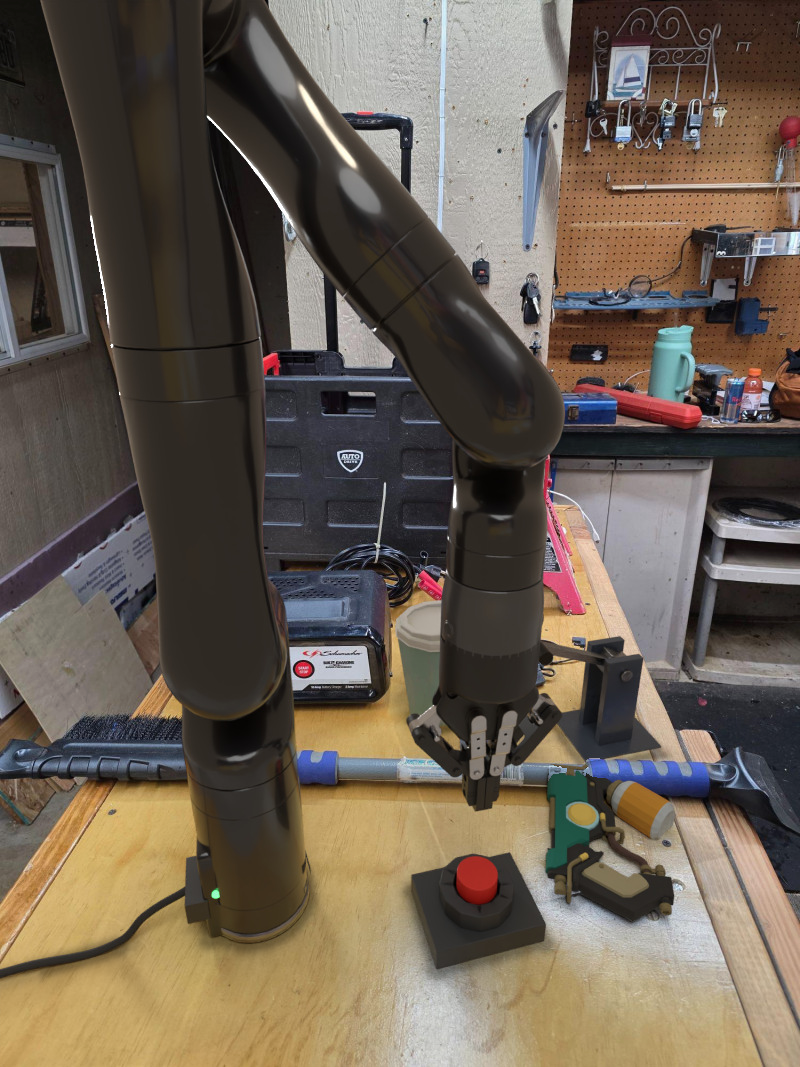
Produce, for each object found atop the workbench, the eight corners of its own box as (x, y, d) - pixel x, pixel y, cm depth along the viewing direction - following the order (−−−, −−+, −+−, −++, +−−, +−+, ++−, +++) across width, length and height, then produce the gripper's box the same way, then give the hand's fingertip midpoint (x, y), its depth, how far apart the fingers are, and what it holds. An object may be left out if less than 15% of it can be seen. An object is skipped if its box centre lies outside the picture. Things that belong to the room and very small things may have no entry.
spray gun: (665, 951, 60) (502, 888, 67) (690, 814, 73) (552, 772, 80) (669, 919, 58) (502, 857, 65) (694, 784, 72) (553, 743, 78)
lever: (535, 666, 75) (544, 648, 74) (515, 641, 80) (523, 623, 79) (631, 685, 80) (640, 668, 79) (606, 660, 84) (614, 643, 84)
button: (464, 908, 60) (465, 894, 59) (451, 875, 63) (451, 860, 62) (503, 899, 60) (504, 885, 60) (488, 866, 64) (488, 852, 63)
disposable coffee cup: (386, 734, 86) (384, 631, 80) (404, 685, 96) (403, 589, 90) (471, 746, 84) (475, 640, 78) (480, 694, 94) (484, 597, 88)
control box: (436, 970, 58) (436, 937, 57) (410, 891, 65) (410, 860, 64) (544, 941, 61) (548, 909, 59) (508, 868, 68) (510, 837, 66)
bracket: (584, 769, 80) (596, 677, 75) (550, 721, 88) (558, 635, 83) (660, 754, 83) (675, 663, 78) (619, 709, 91) (631, 624, 86)
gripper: (549, 592, 56) (532, 760, 63) (393, 611, 53) (392, 785, 60) (595, 639, 50) (571, 821, 56) (419, 663, 47) (415, 853, 53)
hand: (479, 803), depth 58 cm, fingers closed
